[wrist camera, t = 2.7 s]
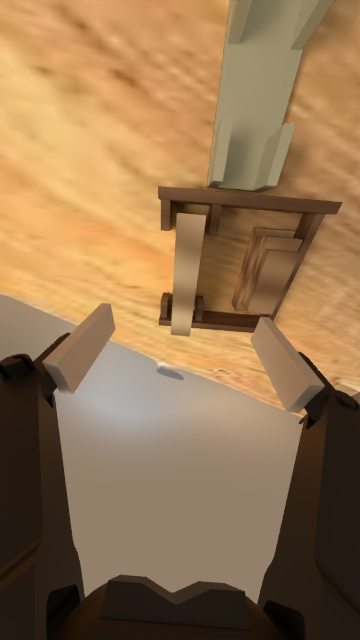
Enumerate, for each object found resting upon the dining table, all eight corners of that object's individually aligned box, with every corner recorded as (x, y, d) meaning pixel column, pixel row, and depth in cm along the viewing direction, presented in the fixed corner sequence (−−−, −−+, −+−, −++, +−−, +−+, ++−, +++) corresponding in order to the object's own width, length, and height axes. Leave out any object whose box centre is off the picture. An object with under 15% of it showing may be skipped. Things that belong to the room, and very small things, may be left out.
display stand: (235, -43, 14) (258, -168, 10) (323, -35, 14) (388, -155, 10) (206, 187, 23) (210, 180, 18) (260, 192, 23) (278, 186, 18)
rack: (163, 191, 23) (156, 184, 18) (315, 204, 24) (352, 201, 18) (162, 312, 35) (157, 329, 30) (263, 320, 35) (276, 339, 30)
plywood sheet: (180, 213, 25) (177, 212, 16) (199, 215, 25) (206, 215, 16) (175, 302, 34) (170, 334, 25) (189, 303, 34) (189, 336, 25)
